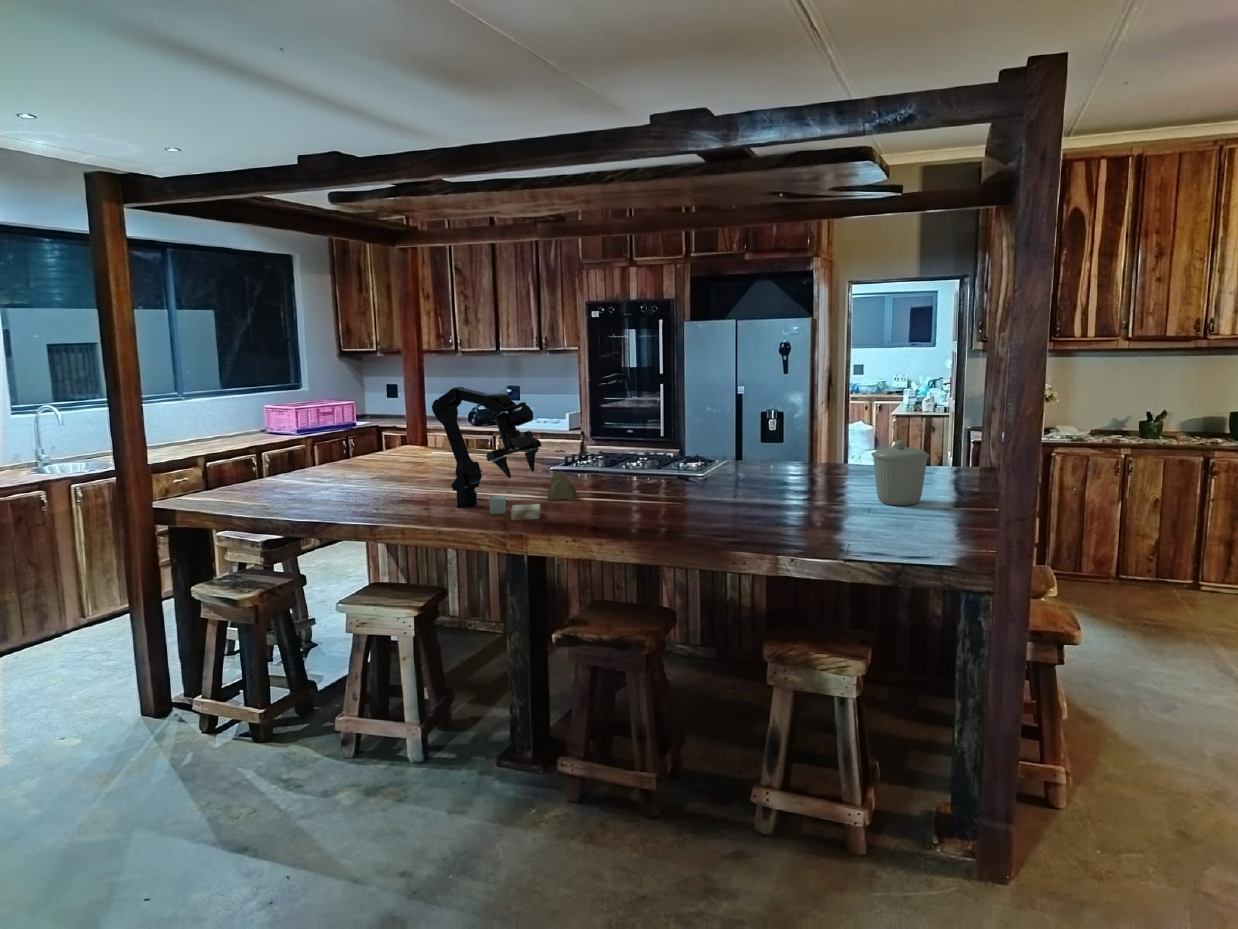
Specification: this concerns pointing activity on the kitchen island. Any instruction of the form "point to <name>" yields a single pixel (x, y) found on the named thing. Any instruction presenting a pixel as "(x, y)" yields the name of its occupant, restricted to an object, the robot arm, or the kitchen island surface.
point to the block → (497, 504)
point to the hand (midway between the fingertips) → (521, 474)
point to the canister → (899, 474)
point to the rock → (561, 488)
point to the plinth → (525, 512)
